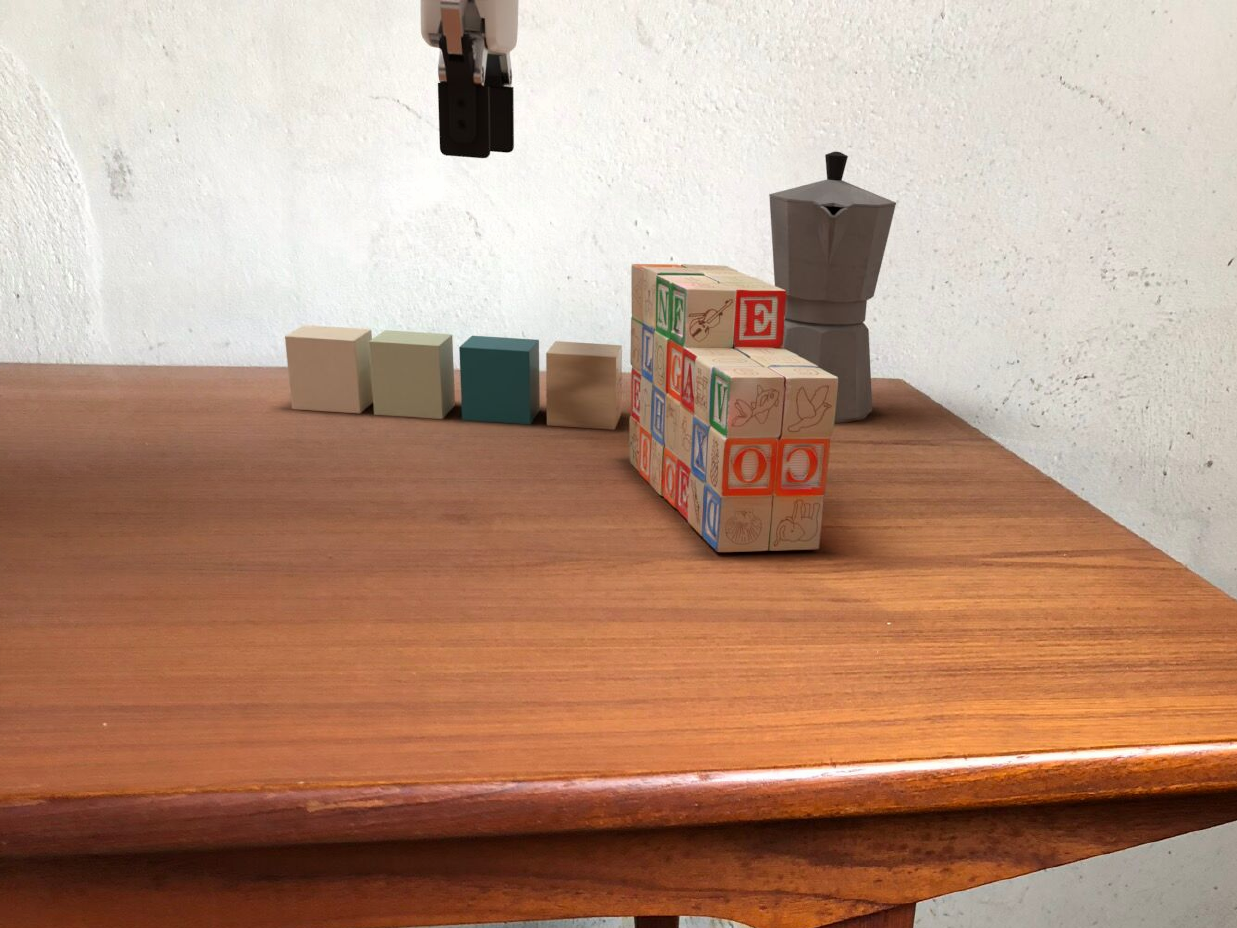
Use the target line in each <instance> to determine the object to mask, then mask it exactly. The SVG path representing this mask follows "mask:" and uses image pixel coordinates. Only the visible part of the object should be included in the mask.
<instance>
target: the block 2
mask: <svg viewBox="0 0 1237 928" xmlns="http://www.w3.org/2000/svg"><path fill="white" fill-rule="evenodd" d="M453 342H454V341H453V334H451V333H437V332H433V333H432V332H422V331H421V332H420V331H406V330H405V331H404V330H392V329H391V330H389V329H385V330H383V331H382V332H380V333H378V334H377V335H376V336H374V337H372V340H370V341H369V349H370V363H371V377H372V391H373V403H372V404H373V405H372V406H373V415H375V416H389V417H402V418H403V417H405V418H418V419H435V420H443V419H444V418H445V417H446V416H447V415H448V414H449V412H451V410H452V409H453V408H454V407H455V406H456V391H455V368H454V366H455V365H454V364H455V363H454V343H453Z"/></svg>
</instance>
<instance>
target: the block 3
mask: <svg viewBox="0 0 1237 928" xmlns="http://www.w3.org/2000/svg"><path fill="white" fill-rule="evenodd" d="M545 362H546V363H545V364H546V365H545V374H546V375H545V380H546V381H545V385H546V387H545V389H546V390H545V391H546V392H545V393H546V395H545V396H546V426H548V427H561V428H562V427H563V428H578V429H596V430H607V431H608V430H609V431H615V430H616V428H617V425H618V423H619V421H620V418H621V415H622V379H623V378H622V377H623V370H622V369H623V345H622V344H607V343H594V342H593V343H591V342H576V341H560V340H555V341H554V342H553V343H552V345H551V346H550V347H549V349H548V350H547V351H546V353H545Z"/></svg>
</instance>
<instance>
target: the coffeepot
mask: <svg viewBox="0 0 1237 928" xmlns="http://www.w3.org/2000/svg"><path fill="white" fill-rule="evenodd" d="M824 157H825V169H826V170H825V171H826V179H823V180H819V181H816V182H812V183H808V184H804V185H800V186H796V187H792V188H788V189H784V190H781V191H777V192H773V193H769V194H768V196H769V212H770V213H769V214H770V229H771V244H772V246H771V247H772V262H773V279H774V280H773V281H774V286H776V287H779V288H781V289H783V290H785V291H786V305H785V321H784V338H783V348H782V349H786V350H788V351H790V352H792V353H794V354H796V355H798V356H799V357H801V358H803V359H805V360H807V361H809V362H811V363H813V364H815V365H817V366H818V367H819V368H821V369H823V370H824V371H826V372H828V373H830V374H832V375H834V376H837V377H838V390H837V400H836V411H835V419H834V424H835V423H850V422H857V421H861V420H863V419H866V418H867V417H868V415H869V414H870V413H871V412H873V393H872V371H871V352H870V351H871V350H870V331H869V328H868V327H867V325H866V324H865V321H866V316H867V315H866V314H867V305H868V301H869V300H871V299H873V298H874V296H875V292H876V290H877V289H876V288H877V285H878V281H879V275H880V272H881V268H882V264H883V259H884V256H885V251H886V247H887V242H888V239H889V234H890V231H891V226H892V222H893V218H894V214H895V209H896V206H897V202H896V201H893V200H892V199H889V198H886V197H884V196H881V195H878V194H876V193H874V192H871V191H869V190H866V189H865V188H862V187H860V186H857V185H855V184H852V183H849V182H847V181H844V180H843V177H844V173H845V169H846V165H847V161H848V158H849V156H848V155H847V154H845V153H843V152H841V151H832V152H829V153H826V154H824Z"/></svg>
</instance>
